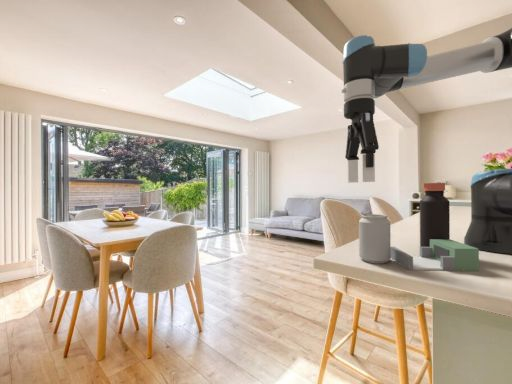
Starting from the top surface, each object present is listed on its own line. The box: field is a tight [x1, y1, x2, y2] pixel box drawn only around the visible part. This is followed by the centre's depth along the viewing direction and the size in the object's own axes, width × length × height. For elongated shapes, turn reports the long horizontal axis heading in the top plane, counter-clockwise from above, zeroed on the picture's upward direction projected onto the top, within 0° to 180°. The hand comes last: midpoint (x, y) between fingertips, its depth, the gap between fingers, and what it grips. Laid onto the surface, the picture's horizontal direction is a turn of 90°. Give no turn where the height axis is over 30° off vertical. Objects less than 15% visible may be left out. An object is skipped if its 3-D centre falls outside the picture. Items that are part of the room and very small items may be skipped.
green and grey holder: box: [390, 239, 480, 272], centre depth 63 cm, size 15×10×5 cm, turn 84°
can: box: [358, 213, 392, 264], centre depth 67 cm, size 8×8×12 cm
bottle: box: [419, 182, 451, 248], centre depth 72 cm, size 7×7×20 cm
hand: (359, 182), depth 67 cm, fingers open, 13 cm apart
